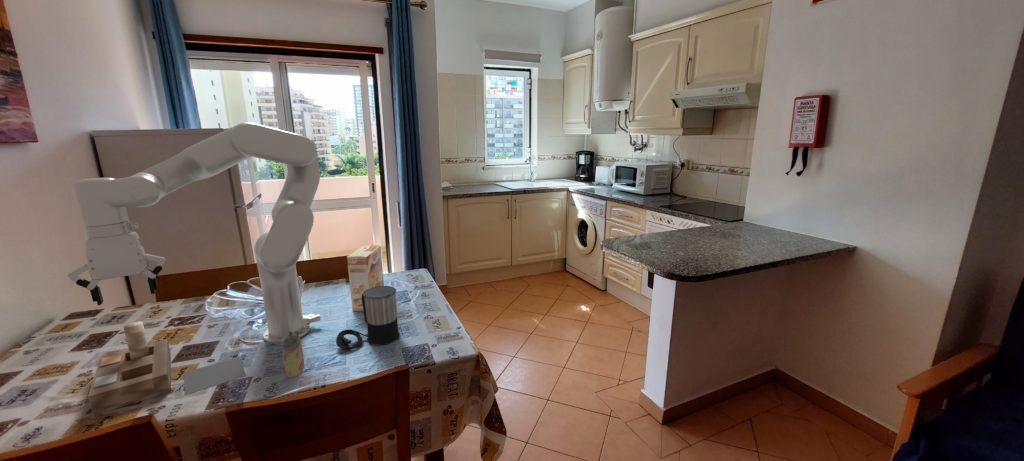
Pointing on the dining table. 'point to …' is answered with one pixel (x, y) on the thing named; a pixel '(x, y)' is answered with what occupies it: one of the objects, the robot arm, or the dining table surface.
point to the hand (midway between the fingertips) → (127, 297)
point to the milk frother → (375, 318)
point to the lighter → (293, 355)
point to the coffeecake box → (364, 272)
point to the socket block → (130, 378)
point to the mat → (213, 375)
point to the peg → (136, 340)
